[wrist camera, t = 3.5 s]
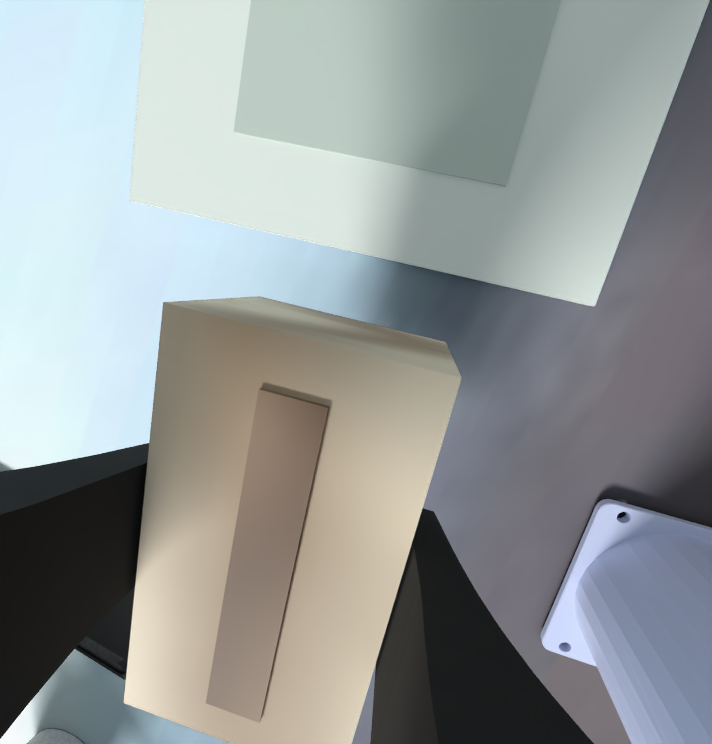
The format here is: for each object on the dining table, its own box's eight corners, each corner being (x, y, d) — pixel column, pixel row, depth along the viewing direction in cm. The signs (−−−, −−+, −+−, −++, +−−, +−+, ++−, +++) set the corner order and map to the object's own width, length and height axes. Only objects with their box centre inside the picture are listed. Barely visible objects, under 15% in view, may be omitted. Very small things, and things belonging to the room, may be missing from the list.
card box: (445, 341, 10) (462, 379, 6) (365, 624, 12) (338, 789, 8) (259, 296, 10) (159, 302, 6) (214, 574, 13) (119, 708, 9)
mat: (741, -102, 12) (756, -121, 12) (589, 305, 15) (595, 306, 15) (167, -162, 15) (156, -180, 14) (137, 202, 18) (127, 199, 17)
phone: (139, 689, 23) (-66, 561, 24) (152, 671, 24) (-45, 549, 25) (183, 596, 21) (-43, 460, 22) (195, 581, 22) (-21, 452, 23)
